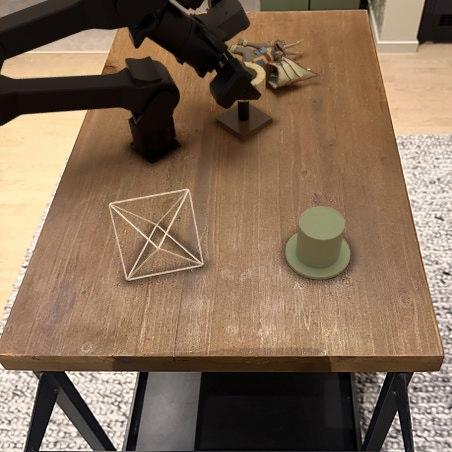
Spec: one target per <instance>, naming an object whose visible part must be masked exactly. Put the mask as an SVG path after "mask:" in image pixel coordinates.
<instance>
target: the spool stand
mask: <svg viewBox="0 0 452 452" xmlns="http://www.w3.org/2000/svg"><path fill="white" fill-rule="evenodd" d="M345 228H346V221H345V217H344V216H343V215H342V213H341V212H340V211H338V210H336V209H335V208H332V207H330V206H325V205H316V206H311V207H309V208H306V209H305V210H304V211H303V212H302V213H301V214H300V216H299V218H298V225H297V232H295V233H294V234H293V235H292V236H291V237H290V238H289V239H288V241H287V242H286V245H285V251H284V255H285V261H286V263H287V265H288V266H289V267H290V268H291V270H293V272H295V273H297V275H300V276H302V277H304V278H307V279H309V280H317V281H318V280H319V281H321V280H329V279H332V278H335V277H337V276H338V275H340V274H342V273H343V272H344V271H345V270H346V269H347V267H348V265H349V263H350V259H351V248H350V246H349V244H348V242H347V241H346V239H345V238H344V234H345Z"/></svg>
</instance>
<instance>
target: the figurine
mask: <svg viewBox="0 0 452 452" xmlns="http://www.w3.org/2000/svg"><path fill="white" fill-rule="evenodd" d="M305 39H306V38H305V37H302V38H301V40H298V41H296V42H294V43H291V44H290V43H289V44H286V41H285V40H283V39H281V40H280V39H276V40H275V41H273V44H271V43H269V44H268V43H265V42H252V41H249V40H248V39H243V38H241V36H238V38H237V44H235V42H232V43H231V44H230V45H228V47H229V48H228V51H229V52H230V53H231V54H232V55H236V56H239V57H242V59H241V61H242V62H251V63H252V64H253V63H255V64H257V65H259V66H261V67H262V68H263V69H264V71H265V74H266V83H267V84H269V85H270V87H272V88H273V89H274V90H278V89H279V88H283V87H288V86H291V85H293V84H296V83H299V82H303V81H306V80H310V79H313V78H316V77H319V76H321V75H322V73H318V71H317V72H315V71H313V70H312V69H313V68H306V67H304V66H303V65H301V64H300V62H297V61H296V60H295V59H292V58H291V57H288V56H298V55H302V54H303V53H304V51H301V50H300V45H301V43H302V42H303V41H304V40H305ZM239 46H242V47H239ZM295 46H298V47H297V48H298V51H295V52H294V51H289V50H287V49H291V48H293V47H295ZM252 48H253V49H252Z"/></svg>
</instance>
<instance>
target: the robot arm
mask: <svg viewBox="0 0 452 452" xmlns="http://www.w3.org/2000/svg"><path fill="white" fill-rule="evenodd" d="M174 1H175V2H176V3H177V4H178V5H180V6H181V7H182V8H184V9H185V10H187V11H189V10H190V9H191V10H192V11H194V12H196V11H197V9H200V8H201V6H202V5H203V3H204V2H205V0H174ZM177 4H175V3H174V2H173V1H171V0H43V1H41V2H39V3H36V4H33V5H30V6H28V7H25V8H22V9H19V10H17V11H13V12H12V13H8V14H6V15H3V16H0V127H3V126H5V125H7V124H8V123H10V122H12V121H14V120H15V119H17V118H19V117H21V116H24V115H37V114H38V115H39V114H52V113H53V114H54V113H64V112H67V113H68V112H79V111H80V112H81V111H93V110H94V111H95V110H106V109H123V110H126V111H129V112H130V115H131V117H130V118H128V119H127V120H128V126H129V129H130V134H131V137H132V141H130V143H129V147H130V148H131V149H132V150H133V151H135V152H136V153H137V154H138V155H139V156H141V157H142V158H143V159H145V160H146V161H147V162H148V163H150V164H154V163H156V162H157V161H159V160H161V159H162V158H164V157H166V156H167V155H169V154H171V153H173V152H174V151H176V150H177V149H179V148H181V147H182V144H181V142H180V141H179V140H178V139H176V138H177V131H176V125H175V118H174V112H175V110H176V108H177V107H178V105H179V104H180V100H181V92H180V89H179V87H178V86H177V84H176V82H175V80H174V78H173V77H172V75H171V73H170V71H169V70H168V68H167V67H166V66H165V64H163V63H162V61H159V60H157V59H152V57H151V55H148V56H146V57H141V58H134V57H125V58H124V63H125V67H124V68H122V69H121V70H119V71H117V72H114V73H105V74H87V75H86V74H85V75H83V74H82V75H67V76H66V75H65V76H47V77H45V76H43V77H25V78H24V77H23V78H13V77H10V76H7V75H4V74H2V69H3V66H4V63H5V61H7V60H9V59H12V58H15V57H17V56H21V55H23V54H25V53H29V52H31V51H33V50H36V49H39V48H42V47H45V46H47V45H50V44H52V43H55V42H58V41H60V40H63V39H66V38H69V37H71V36H73V35H76V34H79V33H82V32H85V31H90V30H102V31H104V30H105V31H114V30H119V29H123V28H124V29H125V28H126V29H127V30H128V38H129V39H130V42H131V43H132V45H133V48H134V49H136V50H137V49H139V48H140V47H141V46H142V44H143V42H144V41H145V39H146V38H147V39H148V40H150V41H152V42H154V44H155V45H158V46H159V47H161V48H162V49H163V50H165V51H167V53H169V54H171V55H172V56H173V57H174V59H175V61H176V62H177V63H178V64H180V65H181V66H183V65H184V64H186V65H188V66H189V67H190V68H192V69H193V70H194V72H195V73H196V75H197V76H198V77H199V78H201V79H203V80H204V78H205V77H206V75H207V74H208V73H209V74H213V72H214V71H215V73H216V74H215V76H214V77H213V78H212V80H211V81H210V82H209V84H208V85H209V86H208V87H209V93H210V95H211V97H212V98H213V100H214V102H215V103H216V105H218V106H220V108H221V107H222V108H223V109H224V110H230V109H232V107H233V106H234V104H236V102H237V101H236V100H251V101H258V100H260V98H261V97H262V95H261V93H260V92H259V91H258V90H257V89H256V87H255V86H254V85H253V84H252V83H251V81H252V79H253V75H252V73H251V72H250V70H249V69H248V67H247V66H246V65H245V63H244V62H242V60H240V59H239V58H238V57H234V54H232V53H231V52H230V50H228V48H229V45H228V44H227V43H226V42H229V41H231V40H232V39H233V38H235V37H236V36H237V35H239V34H240V33H241V32H244V31H246V30H248V29H249V27H250V26H251V21H250V18H249V17H248V14H247V12H246V10H245V9H244V6H243V5H242V3H241V1H239V0H207V7H206V8H205V11H206V12H202V13H199V14H196V13H192V12H191V13H187V12H186V11H185V10H183V9H182V8H180V7H179V6H178V5H177Z"/></svg>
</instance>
